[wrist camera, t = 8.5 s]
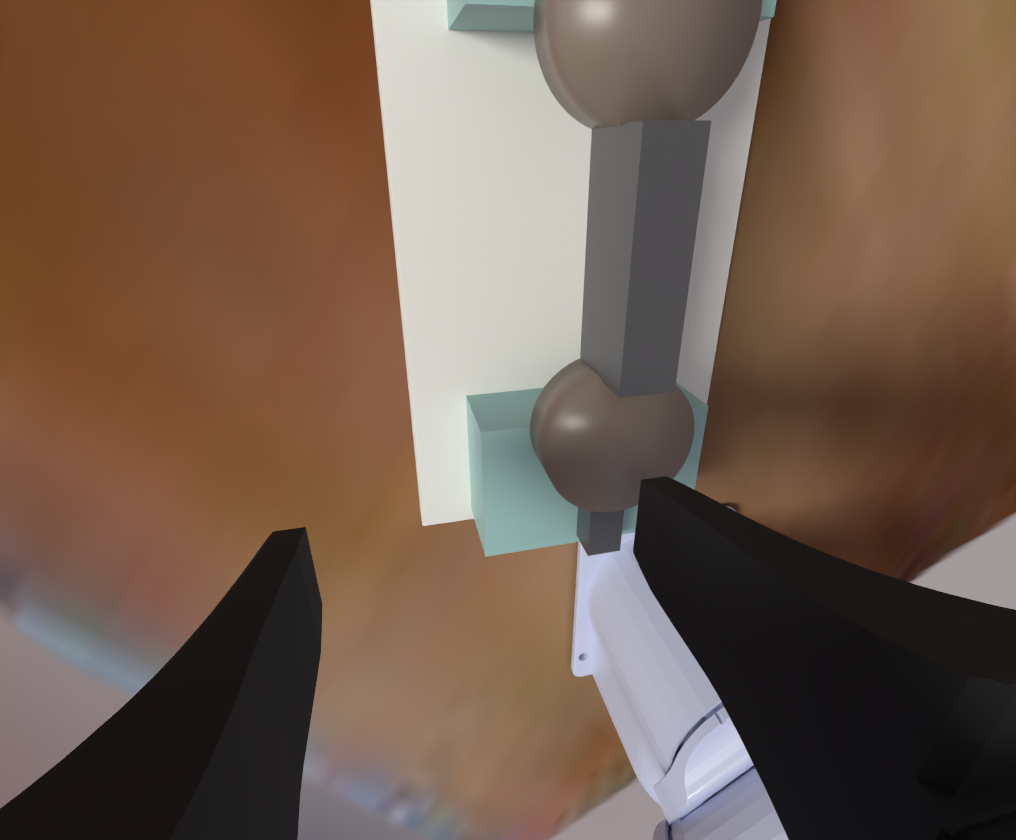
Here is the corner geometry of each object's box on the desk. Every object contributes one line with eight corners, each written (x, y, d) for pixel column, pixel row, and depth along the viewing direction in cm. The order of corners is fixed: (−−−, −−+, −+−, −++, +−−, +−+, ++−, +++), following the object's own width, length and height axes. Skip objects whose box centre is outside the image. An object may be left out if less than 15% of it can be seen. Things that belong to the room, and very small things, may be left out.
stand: (682, 474, 25) (732, 526, 22) (420, 511, 23) (430, 576, 19) (783, -187, 15) (904, -287, 12) (346, -243, 13) (338, -388, 10)
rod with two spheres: (651, 522, 21) (693, 576, 18) (528, 542, 20) (553, 602, 17) (750, -232, 12) (859, -342, 9) (535, -263, 11) (589, -396, 8)
